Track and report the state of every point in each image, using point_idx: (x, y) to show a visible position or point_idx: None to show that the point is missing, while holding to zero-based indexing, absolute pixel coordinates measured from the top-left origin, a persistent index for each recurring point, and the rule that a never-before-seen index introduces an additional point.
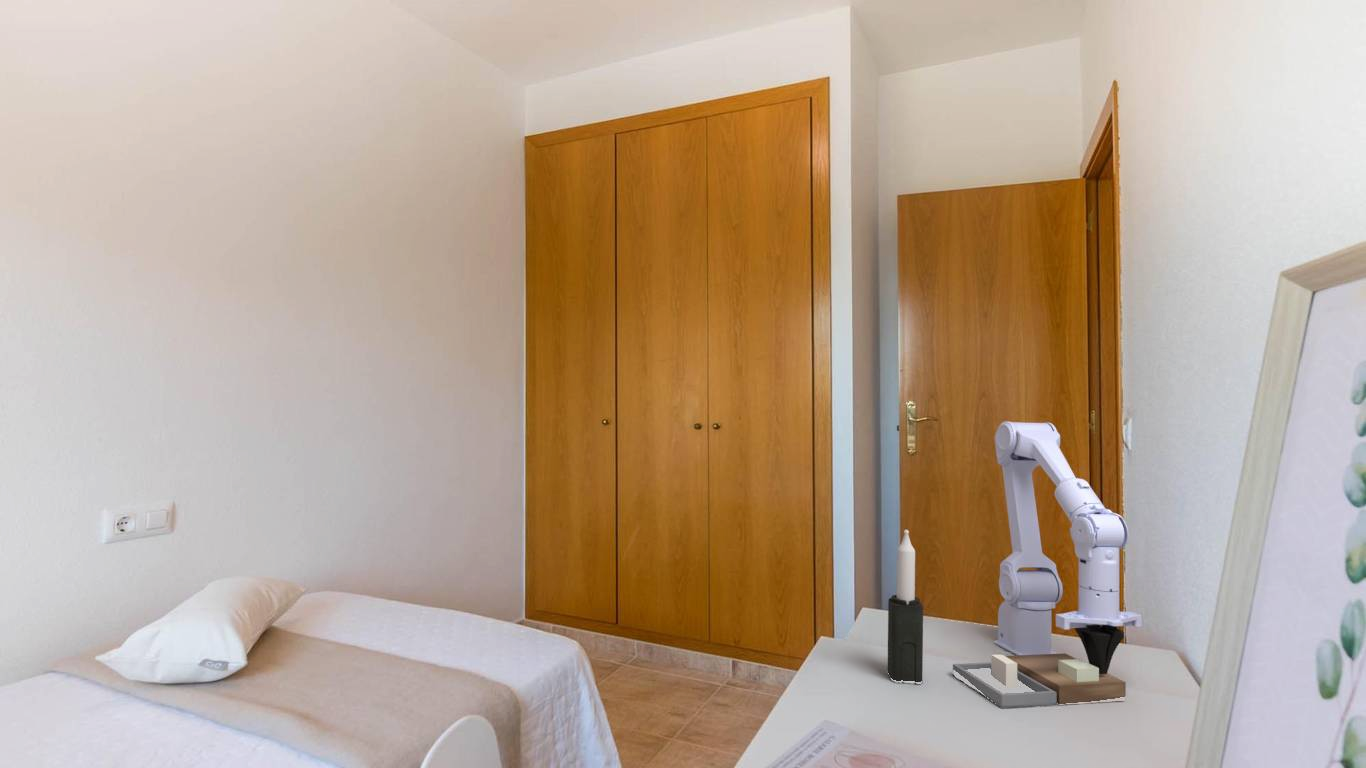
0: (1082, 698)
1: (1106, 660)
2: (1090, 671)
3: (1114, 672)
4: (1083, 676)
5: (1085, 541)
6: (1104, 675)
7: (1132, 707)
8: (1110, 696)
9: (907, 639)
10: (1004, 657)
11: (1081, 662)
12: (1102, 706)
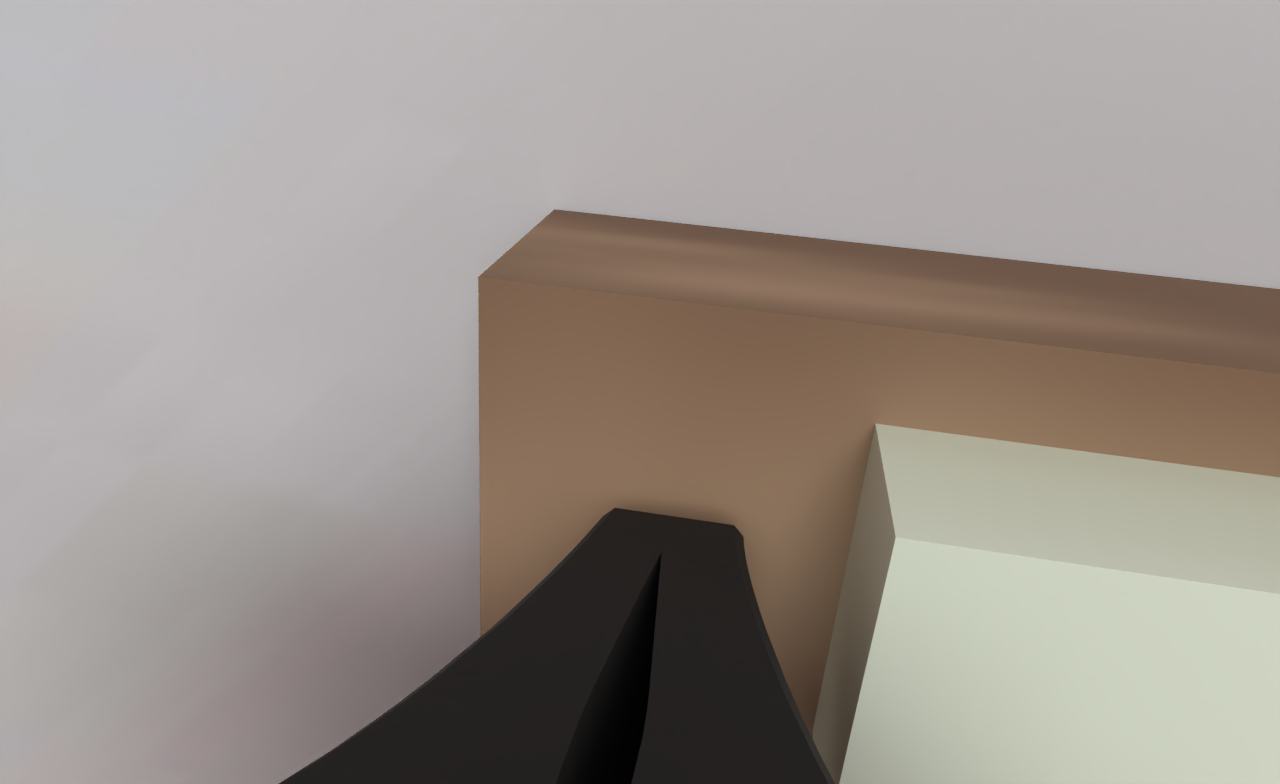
0: (1238, 302)
1: (626, 630)
2: (1084, 534)
3: (107, 737)
4: (1221, 508)
5: None
6: None
7: (619, 45)
8: (765, 255)
9: None
10: None
11: None
12: (998, 162)
